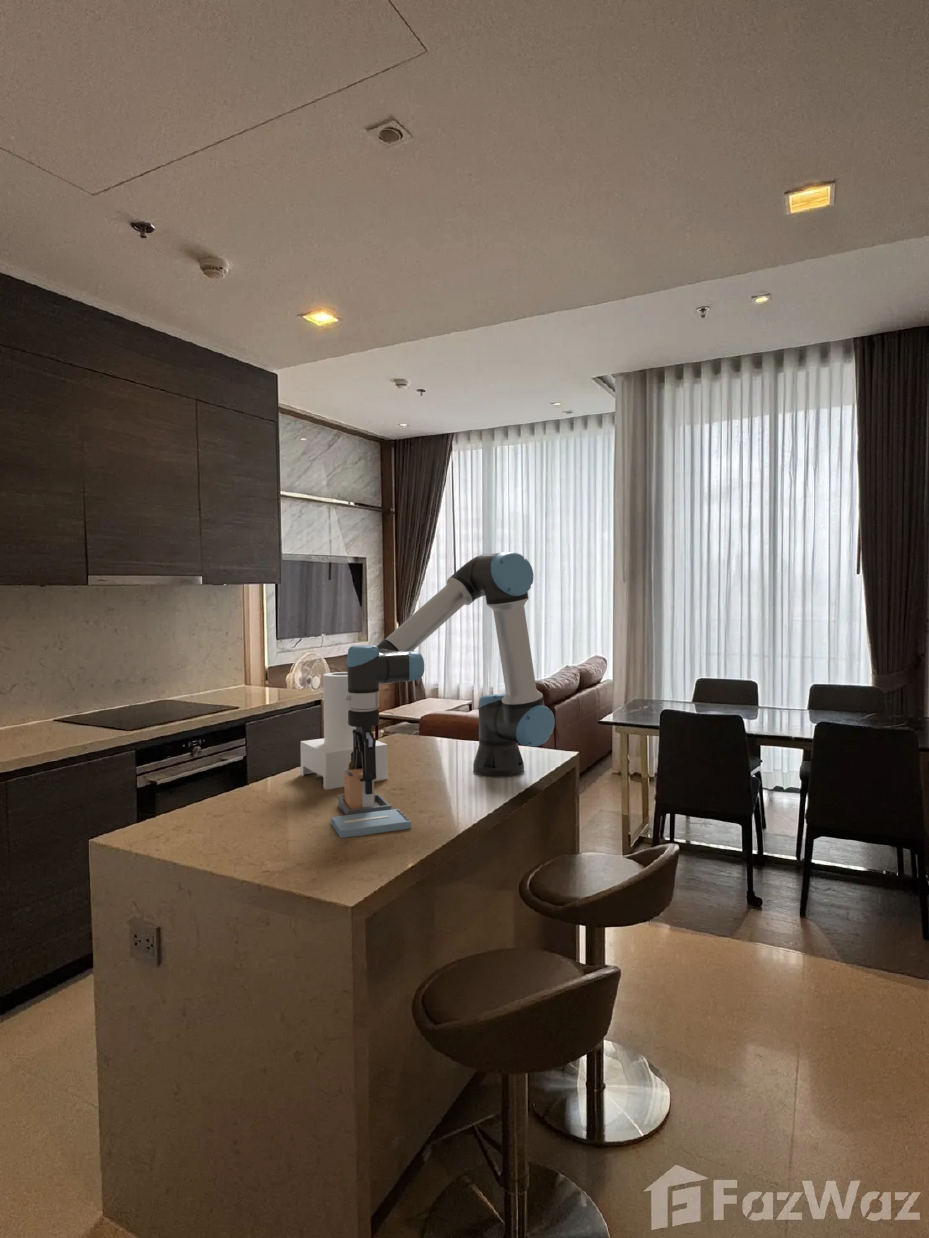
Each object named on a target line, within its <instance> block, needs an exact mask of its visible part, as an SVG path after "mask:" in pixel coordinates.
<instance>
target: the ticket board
mask: <svg viewBox="0 0 929 1238" xmlns="http://www.w3.org/2000/svg"><path fill="white" fill-rule="evenodd" d="M330 819H331V826H332V827H333V829H334V830H335V832H336V834H338V836H339V838H340V839H344V838H351V837H357V836H358V837H360V836H366V835H373V834H378V833H379V834H381V833H387V832H394V831H401V830H409V829H412V821H411V819H410V818H409V817H408V816H407V815H406V814H405V813H404V812H403V811H402V810H401V809H400V808H391V810H384V811H376V812H368V813H360V814H352V815H339V816H338V815H337V816H331V818H330Z"/></svg>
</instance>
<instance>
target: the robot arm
mask: <svg viewBox="0 0 929 1238" xmlns="http://www.w3.org/2000/svg"><path fill="white" fill-rule="evenodd" d="M533 583H534V570H533V567H532V565H531V562H530V561H529V560H528V559H527V557H525V556H523V555H522V554H520V553H519V552H518V553H517V552H512V551H511V552H510V551H502V552H495V553H485V554H479V555H477V556H474V558H472V559H470V560H468V561H467V562H466V563H464V565H462V566H461V567H460V568H459V569H458V570H456V571H455V572H454V573H453V574H452V575H451V576H450V577H448V579H447V580H446V585H445V586H444V587H443V588H441V589H440V590H439V591H438V592H436V594H435V595H434V596H432V597H431V598H430V599H429V600H428V601H427V602H425V604H423V605H422V606H421V607H420V608H418V609H417V611H415V612H414V613H413V614H412V615H411V616H409V617H408V618H407V619H406V620H405V621H404V622H402V623H401V624H400V625H399V626H398V627H397V628H396V629H394V631H393V632H392V633H390V634H389V635H388V636H387V637H386V638H384V639H383V640H382V641H381V642H380V643H378V644H377V645H374V644H373V645H372V644H370V645H369V644H367V645H365V644H364V645H362V644H361V645H357V644H356V645H351V646H349V648H348V649H347V654H346V655H347V658H346V669H347V671H346V672H347V674H348V696H346V700H348V707H349V708H350V710H349V711H348V724H349V725H350V726H352V727H356V729H353V731H352V733H353V768H355V769H362V771H363V779H360V781H362V807H363V808H365V807H373V806H374V795H375V781H374V779H376V753H375V746H376V740H377V738H376V737H374V732H373V731H372V730H373V729H372V727H376V726H378V725H379V723H380V710H379V709H378V708H379V707H380V687H379V686H380V684H386V683H401V682H403V683H404V682H408V683H410V682H413V681H419V680H420V679H421V678H422V677H423V675H424V673H425V659H424V657H423V655H422V654H421V653H420V652H419V651H417V650H416V648H418V647H419V646H420V645H421V644H422V643H423V642H425V641H426V640H427V639H428V638H429V637H430V636H432V634H433V633H435V632H436V631H437V630H438V629H439V628H440V627H441V626H443V624H445V623H446V622H447V621H448V620H449V619H450V618H452V616H453V615H455V614H456V613H457V612H458V611H459V610H460V609H462V607H464V606H470V605H471V604H472V603H473V602H474V601H476V600H478V599H480V598H482V597H484V596H485V601H486V603H485V604H486V605H487V606H488V607H489V608H491V609H492V612H493V616H494V624H495V630H496V636H497V637H496V638H497V643H498V649H499V656H500V663H501V670H502V676H503V683H504V688H505V693H496V694H495V693H494V694H487V695H486V694H485V695H481V696H480V697H479V700H478V707H477V710H478V748H477V751H476V754H475V757H474V760H473V764H472V766H473V770H472V771H473V773H474V774H477V775H479V776H485V777H490V778H491V777H493V778H507V777H509V778H510V777H515V775H516V776H519V775H521V774H520V773H522V772H523V773H524V772H525V763H524V760H523V756H522V753H521V749H520V747H519V745H521V746H525V747H533V748H534V747H539V746H542V745H544V744H545V743H546V742H547V741H548V740H549V739H550V736H551V735H552V734H553V732H554V729H555V723H556V721H555V714H554V713H553V711H552V710H551V709H550V708H549V707H548V706H546V705H545V701H544V695H543V692H541V691H539V690H538V689H537V684H536V678H535V670H534V664H533V663H534V662H533V657H532V650H531V643H530V636H529V631H528V624H527V623H528V622H527V616H526V609H525V605H526V603H527V601H529V591H530V589H531V588H532V585H533ZM415 650H416V651H415ZM523 773H522V774H523ZM370 774H371V775H370ZM518 774H519V775H518Z"/></svg>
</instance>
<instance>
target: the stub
mask: <svg viewBox="0 0 929 1238" xmlns="http://www.w3.org/2000/svg"><path fill="white" fill-rule="evenodd" d="M370 775H371V774H370ZM360 779H363V771H362V769H354V770H349V769H348V770H345V771H344V787H343V788H344V795H345V803H346V805H347V806H348V807H349V808H350V810H352V809H360V808H363V807H362V781H360ZM374 806H375V794H374ZM374 806H373V807H374ZM365 808H367V807H365Z"/></svg>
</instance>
